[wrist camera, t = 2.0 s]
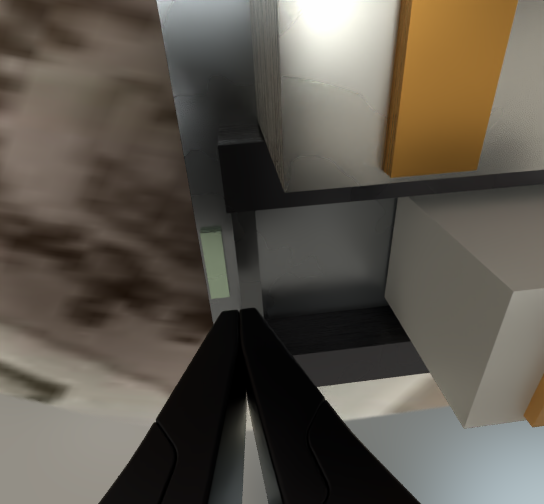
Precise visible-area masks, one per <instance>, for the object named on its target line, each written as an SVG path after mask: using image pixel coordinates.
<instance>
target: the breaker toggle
mask: <svg viewBox="0 0 544 504" xmlns="http://www.w3.org/2000/svg"><path fill="white" fill-rule="evenodd" d="M384 297H385V299H386V300H387V302H388V304H389V305H390V307H391V309H392V310H393V312H394V314H395V315H396V317H397V319H398V320H399V322H400V324H401V325H402V327H403V329H404V330H405V332H406V334H407V335H408V337H409V338H410V340H411V342H412V343H413V345H414V347H415V348H416V350H417V352H418V353H419V355H420V357H421V358H422V360H423V362H424V363H425V365H426V367H427V368H428V370H429V372H430V373H431V375H432V377H433V378H434V380H435V382H436V383H437V385H438V387H439V388H440V390H441V392H442V393H443V395H444V397H445V398H446V400H447V402H448V403H449V405H450V407H451V408H452V410H453V411H454V413H455V415H456V416H457V418H458V420H459V421H460V423H461V425H462V426H463V428H464V429H466V428H473V427H480V426H487V425H495V424H501V423H509V422H516V421H524V420H527V421H528V422H529V423H530V425H531V426H532V427H539V426H544V184H539V185H528V186H517V187H506V188H496V189H485V190H474V191H463V192H452V193H441V194H431V195H420V196H409V197H398V201H397V208H396V216H395V223H394V230H393V238H392V245H391V252H390V260H389V267H388V274H387V282H386V289H385V296H384Z"/></svg>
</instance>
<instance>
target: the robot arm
mask: <svg viewBox="0 0 544 504" xmlns="http://www.w3.org/2000/svg"><path fill="white" fill-rule="evenodd" d="M246 392H247V395H246ZM247 400H248V405H249V411H250V416H251V421H252V426H253V430H254V435H255V440H256V445H257V450H258V455H259V460H260V465H261V469H262V474H263V479H264V484H265V489H266V493H267V499H268V503H269V504H421V503H420V502H419V501H417V499H416V498H415V497H414V496H413V495H412V494H411V493H410V492H409V491H408V490H407V489H406V488H405V487H404V486H403V485H402V484H401V483H400V482H399V481H398V480H397V479H396V478H395V477H394V476H393V475H392V474H391V473H390V472H389V471H388V470H387V469H386V468H385V466H383V464H381V463H380V461H379V460H377V458H376V457H375V456H374V455H373V454H372V453H371V452H370V451H369V450H368V449H367V448H366V447H365V446H364V445H363V443H362V442H361V441H360V440H359V439H358V438H357V437H356V436H355V435H354V434H353V433H352V432H351V430H350V429H349V428H348V427H347V426H346V424H345V423H344V422H343V420H342V419H341V418H340V417H339V416H338V414H337V413H336V412H335V410H334V409H333V408H332V407H331V405H330V404H329V403H328V401H327V400H325V398H324V396H323V395H322V394H321V392H320V391H319V390H318V388H317V387H316V386H315V385H314V383H313V382H312V381H311V379H310V378H309V377H308V375H307V374H306V373H305V371H304V370H303V369H302V367H301V366H300V365H299V364H298V362H297V361H296V360H295V358H294V357H293V356H292V354H291V353H290V352H289V350H288V349H287V348H286V347H285V345H284V344H283V343H282V341H281V340H280V339H279V337H278V336H277V335H276V333H275V332H274V331H273V329H272V328H271V327H270V326H269V324H268V323H267V322H266V320H265V319H264V318H263V316H262V315H261V314H260V312H259V311H258V310H257V309H256V308H244V309H240V311H238V310H236V309H235V310H226V311H222V312H221V313H220V315H219V316H218V318H217V320H216V321H215V323H214V325H213V326H212V328H211V330H210V331H209V333H208V334H207V336H206V338H205V339H204V341H203V343H202V344H201V346H200V348H199V349H198V351H197V353H196V354H195V356H194V357H193V359H192V361H191V362H190V364H189V366H188V367H187V369H186V371H185V372H184V374H183V376H182V377H181V379H180V380H179V382H178V384H177V385H176V387H175V389H174V390H173V392H172V394H171V395H170V397H169V399H168V400H167V402H166V404H165V405H164V407H163V408H162V410H161V412H160V413H159V415H158V417H157V418H156V422H154V423H153V425H152V426H151V428H150V430H149V431H148V433H147V435H146V436H145V438H144V440H143V441H142V443H141V444H140V446H139V447H138V449H137V450H136V452H135V454H134V455H133V457H132V458H131V460H130V461H129V463H128V464H127V466H126V467H125V468H124V470H123V471H122V472H121V474H120V475H119V476H118V478H117V479H116V481H115V482H114V483H113V485H112V486H111V488H110V489H109V490H108V492H107V493H106V494H105V496H104V497H103V498H102V500H101V501H100V502H99V503H98V504H242V491H243V470H244V450H245V431H246V410H247Z"/></svg>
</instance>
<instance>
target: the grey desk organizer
mask: <svg viewBox="0 0 544 504" xmlns="http://www.w3.org/2000/svg"><path fill="white" fill-rule="evenodd" d="M157 6H158V11H159V17H160V23H161V28H162V34H163V40H164V46H165V51H166V57H167V63H168V68H169V74H170V80H171V85H172V91H173V97H174V103H175V108H176V114H177V120H178V125H179V131H180V137H181V142H182V148H183V154H184V159H185V165H186V171H187V177H188V182H189V188H190V194H191V199H192V205H193V211H194V216H195V222H196V228H197V233H198V239H199V245H200V251H201V256H202V262H203V268H204V273H205V279H206V285H207V290H208V296H209V302H210V308H211V313H212V319H213V325H214V323H215V321H216V320H217V318H218V316H219V315H220V313H221V312H222V311H226V310H235V309H236V310H238V311H240V309H244V308H256V309H257V310H258V311H259V312H260V314H261V315H262V316H263V318H264V319H265V320H266V322H267V323H268V324H269V326H270V327H271V328H272V329H273V331H274V332H275V333H276V335H277V336H278V337H279V339H280V340H281V341H282V343H283V344H284V345H285V347H286V348H287V349H288V350H289V352H290V353H291V354H292V356H293V357H294V358H295V360H296V361H297V362H298V364H299V365H300V366H301V367H302V369H303V370H304V371H305V373H306V374H307V375H308V377H309V378H310V379H311V381H312V382H313V383H314V385H315V386H316V387H320V386H327V385H335V384H343V383H351V382H359V381H367V380H375V379H383V378H391V377H399V376H406V375H414V374H422V373H430V372H429V370H428V368H427V367H426V365H425V363H424V362H423V360H422V358H421V357H420V355H419V353H418V352H417V350H416V348H415V347H414V345H413V343H412V342H411V340H410V338H409V337H408V335H407V334H406V332H405V330H404V329H403V327H402V325H401V324H400V322H399V320H398V319H397V317H396V315H395V314H394V312H393V310H392V309H391V307H390V305H389V304H388V302H387V300H386V299H385V297H384V296H385V289H386V282H387V274H388V267H389V260H390V252H391V245H392V238H393V230H394V223H395V216H396V208H397V201H398V197H409V196H420V195H431V194H441V193H452V192H463V191H474V190H485V189H496V188H506V187H517V186H528V185H539V184H544V0H157Z"/></svg>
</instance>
